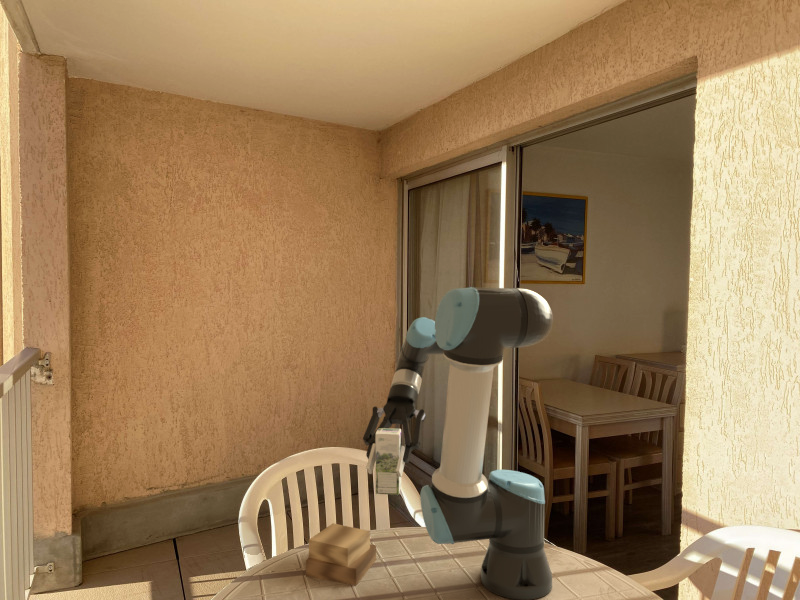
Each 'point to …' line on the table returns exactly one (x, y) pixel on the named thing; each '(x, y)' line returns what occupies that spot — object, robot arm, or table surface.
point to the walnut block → (342, 568)
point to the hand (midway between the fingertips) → (383, 472)
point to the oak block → (339, 544)
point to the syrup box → (387, 461)
